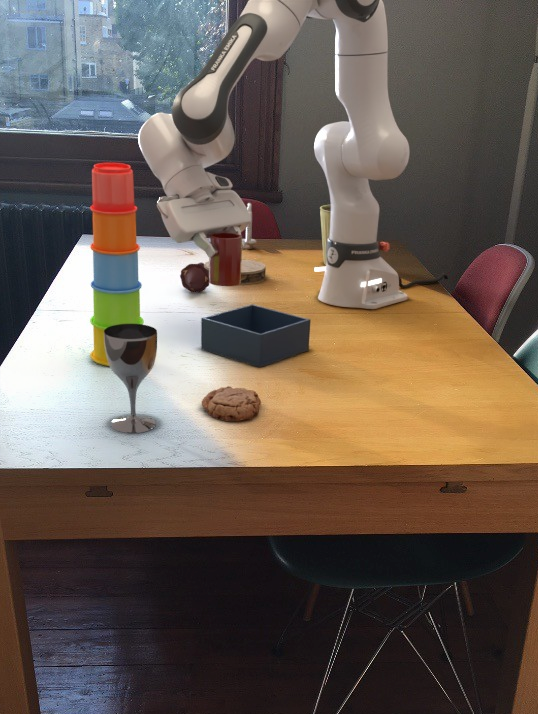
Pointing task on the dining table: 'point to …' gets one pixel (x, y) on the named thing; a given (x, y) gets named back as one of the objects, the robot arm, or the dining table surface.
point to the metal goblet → (131, 367)
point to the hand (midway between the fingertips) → (228, 252)
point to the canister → (226, 259)
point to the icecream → (195, 277)
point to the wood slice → (249, 271)
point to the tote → (255, 335)
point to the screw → (249, 231)
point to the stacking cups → (113, 253)
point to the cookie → (231, 403)
